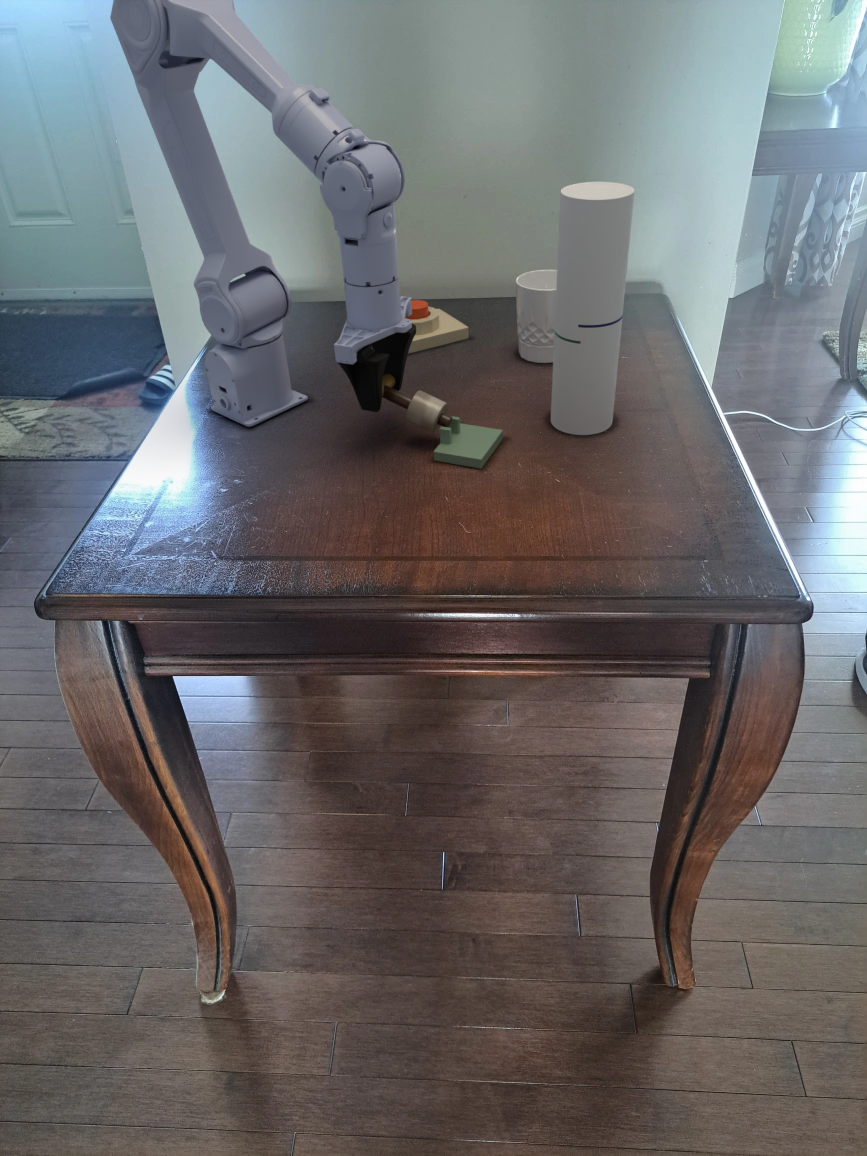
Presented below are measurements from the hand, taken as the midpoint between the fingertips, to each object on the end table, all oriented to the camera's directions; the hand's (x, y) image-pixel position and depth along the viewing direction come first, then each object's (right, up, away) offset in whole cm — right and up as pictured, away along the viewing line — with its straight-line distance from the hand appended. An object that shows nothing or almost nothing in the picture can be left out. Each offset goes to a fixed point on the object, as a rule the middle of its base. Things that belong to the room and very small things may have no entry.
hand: (381, 399), depth 93 cm
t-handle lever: (+3, -2, 0) cm, 4 cm away
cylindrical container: (+23, -2, +4) cm, 24 cm away
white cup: (+21, +10, +19) cm, 30 cm away
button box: (+4, +14, +26) cm, 30 cm away
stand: (+10, -6, -1) cm, 11 cm away
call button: (+3, +17, +24) cm, 29 cm away
